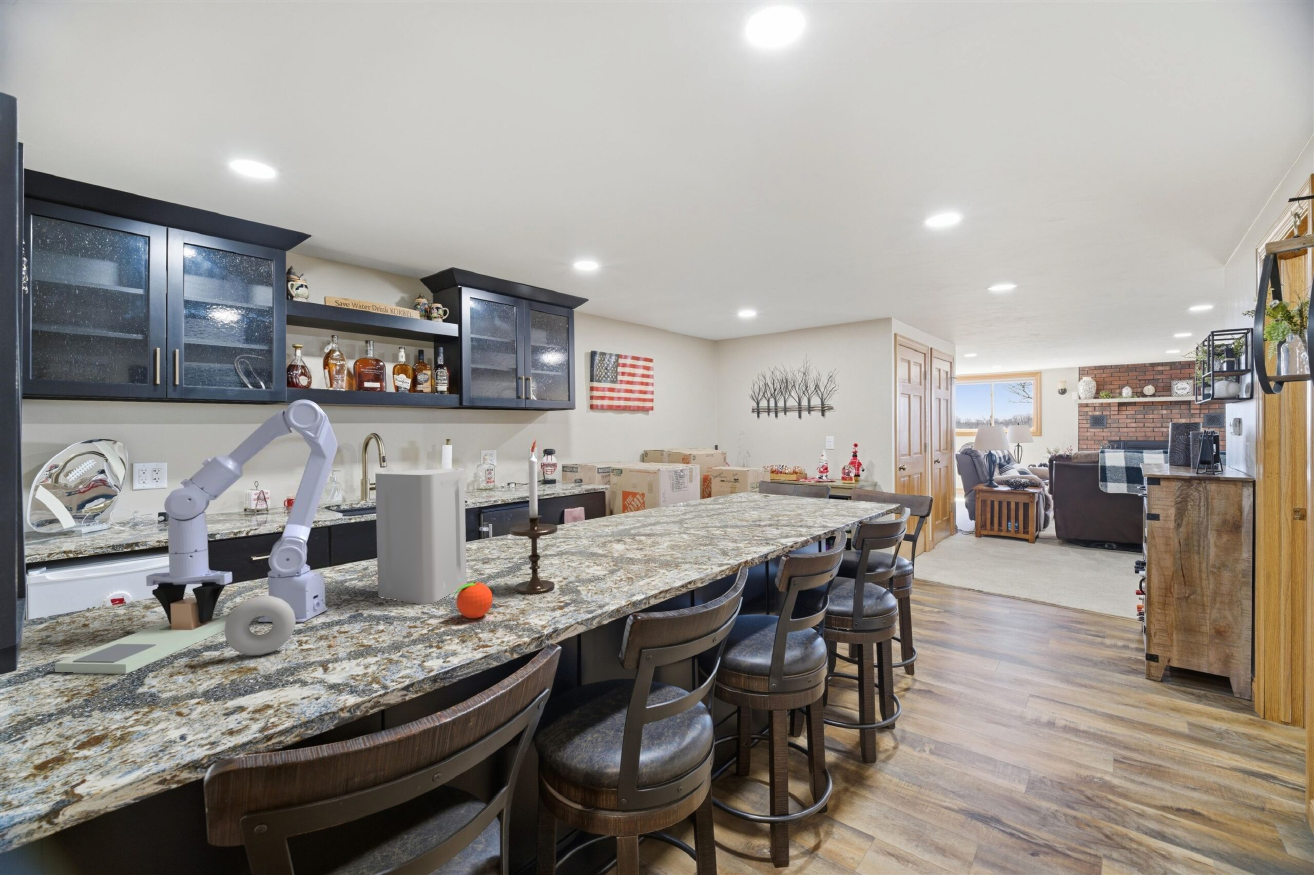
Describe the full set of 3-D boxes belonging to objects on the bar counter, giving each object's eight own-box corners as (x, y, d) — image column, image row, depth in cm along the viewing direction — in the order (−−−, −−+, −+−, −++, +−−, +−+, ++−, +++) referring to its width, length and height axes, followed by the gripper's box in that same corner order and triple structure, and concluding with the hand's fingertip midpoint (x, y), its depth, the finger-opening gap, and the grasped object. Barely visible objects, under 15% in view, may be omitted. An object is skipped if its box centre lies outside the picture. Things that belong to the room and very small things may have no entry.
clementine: (459, 627, 108) (459, 590, 108) (445, 618, 113) (445, 582, 113) (499, 617, 113) (498, 582, 113) (484, 609, 118) (483, 575, 118)
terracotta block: (210, 628, 109) (209, 597, 109) (191, 635, 105) (190, 603, 105) (190, 627, 109) (189, 597, 109) (171, 635, 105) (170, 603, 105)
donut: (222, 664, 92) (221, 603, 92) (227, 656, 95) (225, 597, 95) (295, 652, 97) (294, 594, 97) (297, 645, 100) (296, 589, 100)
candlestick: (557, 581, 139) (555, 438, 138) (559, 593, 128) (556, 439, 128) (511, 584, 137) (509, 439, 136) (510, 597, 126) (507, 440, 125)
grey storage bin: (379, 610, 118) (376, 476, 118) (378, 592, 131) (375, 472, 131) (474, 597, 127) (471, 472, 126) (464, 581, 140) (461, 468, 139)
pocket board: (238, 624, 111) (238, 615, 111) (126, 673, 89) (125, 663, 89) (180, 623, 112) (180, 615, 112) (55, 672, 90) (54, 661, 90)
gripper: (242, 545, 111) (244, 614, 111) (167, 546, 111) (169, 615, 111) (215, 553, 104) (217, 627, 104) (135, 555, 104) (137, 628, 104)
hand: (190, 622), depth 107 cm, fingers open, 5 cm apart
